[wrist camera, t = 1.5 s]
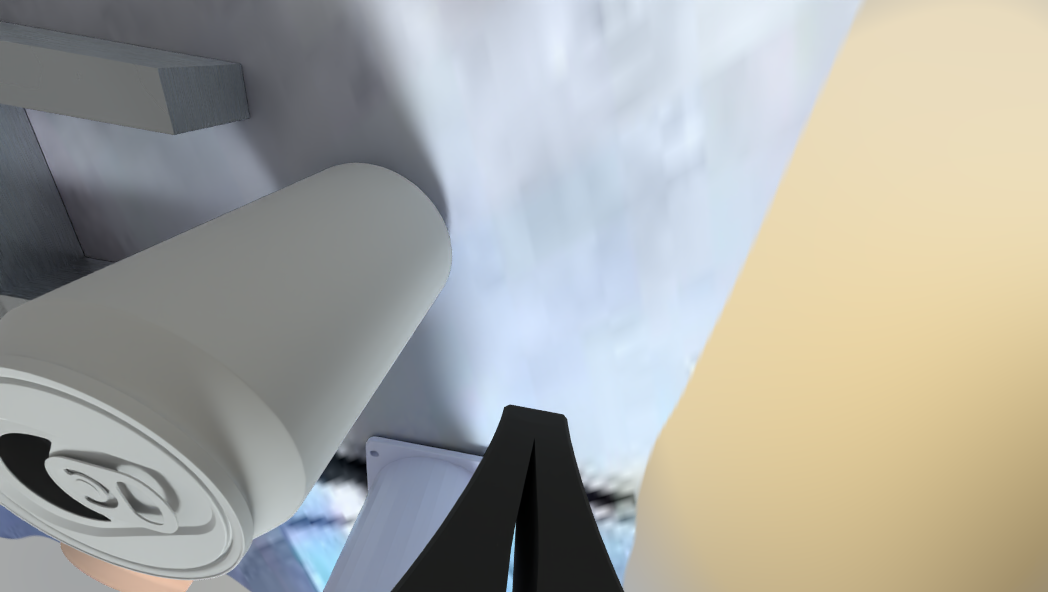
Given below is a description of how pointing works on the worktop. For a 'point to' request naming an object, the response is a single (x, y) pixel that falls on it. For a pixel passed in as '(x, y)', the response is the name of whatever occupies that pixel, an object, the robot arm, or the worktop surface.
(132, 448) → the beverage can
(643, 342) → the worktop surface
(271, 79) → the worktop surface
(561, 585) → the robot arm
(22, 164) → the grey piece
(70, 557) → the peach cylinder plug
